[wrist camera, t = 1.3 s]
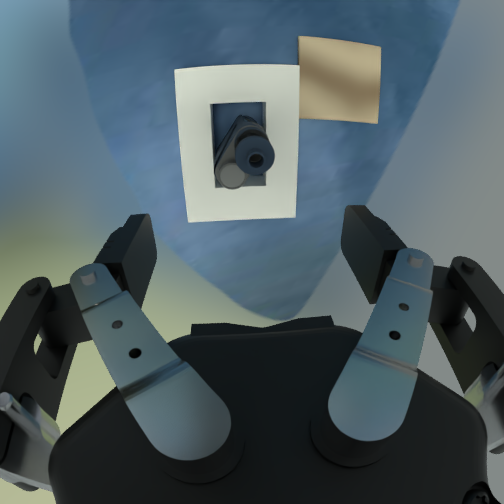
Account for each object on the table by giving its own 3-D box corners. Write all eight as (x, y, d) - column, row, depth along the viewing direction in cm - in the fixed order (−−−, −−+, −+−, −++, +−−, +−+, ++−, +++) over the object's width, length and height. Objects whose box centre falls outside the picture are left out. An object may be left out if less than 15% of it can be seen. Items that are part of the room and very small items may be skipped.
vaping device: (265, 122, 26) (288, 154, 16) (236, 167, 29) (239, 226, 19) (241, 108, 25) (248, 130, 15) (212, 155, 28) (201, 207, 18)
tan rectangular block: (297, 36, 22) (299, 35, 21) (378, 47, 22) (380, 46, 22) (297, 117, 26) (298, 118, 26) (374, 122, 27) (377, 123, 26)
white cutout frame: (180, 70, 23) (174, 69, 20) (292, 66, 23) (299, 65, 21) (191, 208, 31) (188, 222, 28) (289, 204, 31) (295, 217, 29)
